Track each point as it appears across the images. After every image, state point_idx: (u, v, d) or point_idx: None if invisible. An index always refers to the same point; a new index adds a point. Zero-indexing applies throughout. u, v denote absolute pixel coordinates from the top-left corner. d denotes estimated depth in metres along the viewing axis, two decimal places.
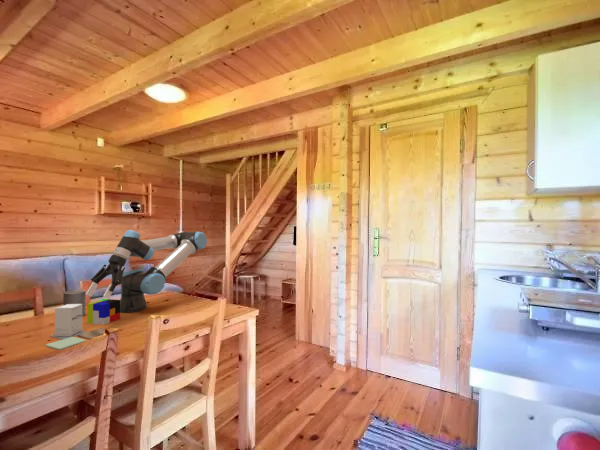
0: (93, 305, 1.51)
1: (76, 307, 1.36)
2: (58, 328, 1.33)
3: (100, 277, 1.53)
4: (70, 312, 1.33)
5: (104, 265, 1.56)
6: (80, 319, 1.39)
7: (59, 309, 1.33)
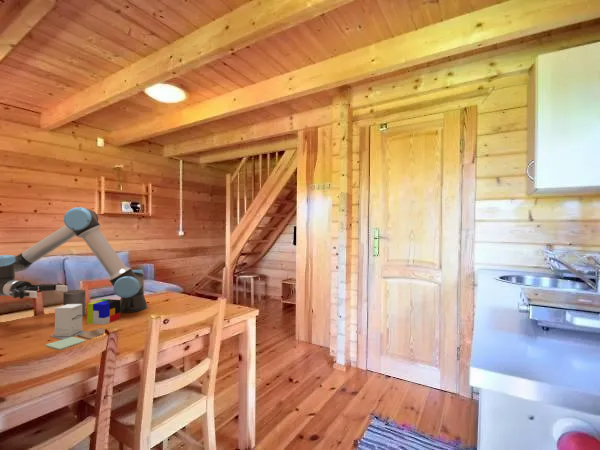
0: (93, 305, 1.51)
1: (76, 307, 1.36)
2: (58, 328, 1.33)
3: (48, 289, 1.46)
4: (70, 312, 1.33)
5: None
6: (80, 319, 1.39)
7: (59, 309, 1.33)
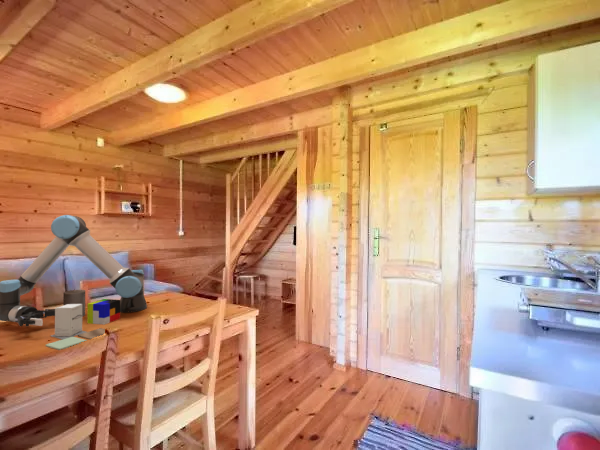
0: (93, 305, 1.51)
1: (76, 307, 1.36)
2: (58, 328, 1.33)
3: (53, 314, 1.45)
4: (70, 312, 1.33)
5: None
6: (80, 319, 1.39)
7: (59, 309, 1.33)
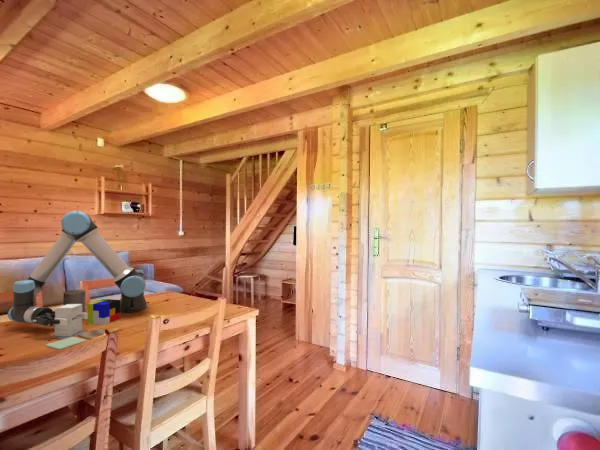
0: (93, 305, 1.51)
1: (76, 307, 1.36)
2: (58, 328, 1.33)
3: None
4: (70, 312, 1.33)
5: None
6: (80, 319, 1.39)
7: (59, 309, 1.33)
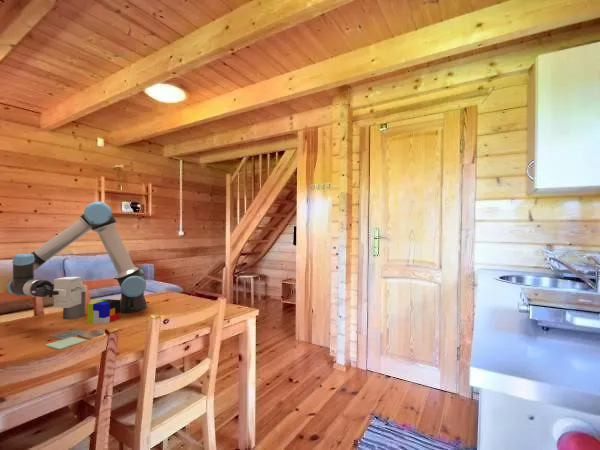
0: (93, 305, 1.51)
1: (75, 279, 1.36)
2: (57, 299, 1.32)
3: None
4: (69, 284, 1.33)
5: None
6: (79, 292, 1.38)
7: (58, 280, 1.32)
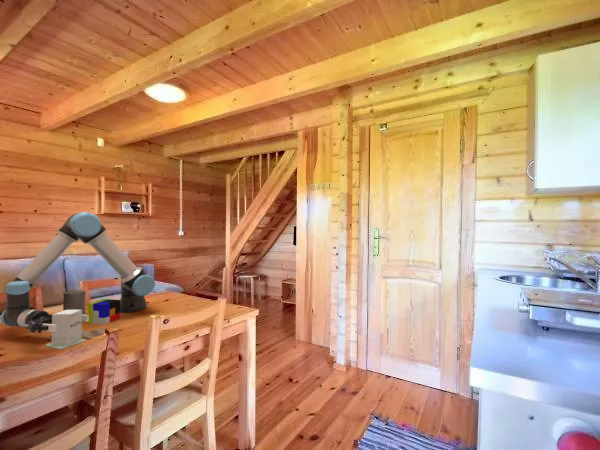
0: (93, 305, 1.51)
1: (75, 313, 1.25)
2: (55, 336, 1.22)
3: None
4: (68, 319, 1.22)
5: None
6: (79, 326, 1.28)
7: (56, 315, 1.22)
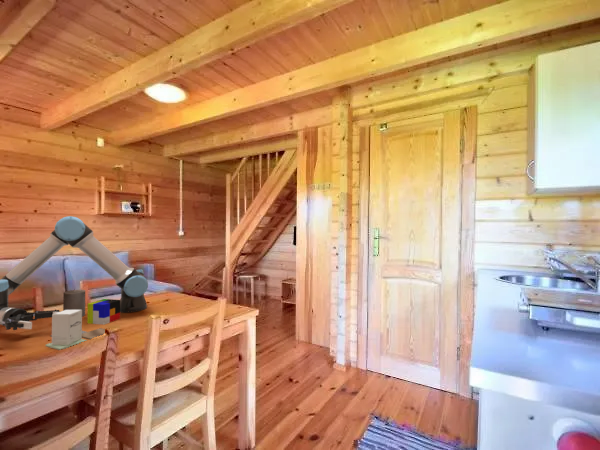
0: (93, 305, 1.51)
1: (75, 313, 1.25)
2: (55, 336, 1.22)
3: (44, 316, 1.35)
4: (68, 319, 1.22)
5: None
6: (79, 326, 1.28)
7: (56, 315, 1.22)
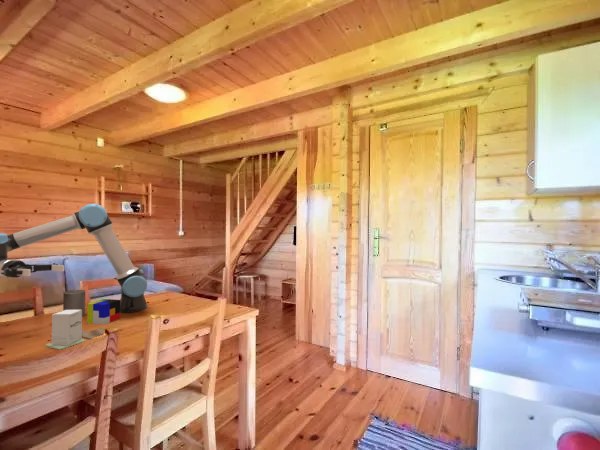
0: (93, 305, 1.51)
1: (75, 313, 1.25)
2: (55, 336, 1.22)
3: (43, 269, 1.36)
4: (68, 319, 1.22)
5: None
6: (79, 326, 1.28)
7: (56, 315, 1.22)
